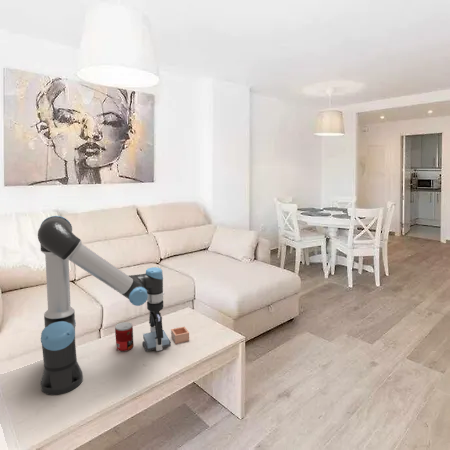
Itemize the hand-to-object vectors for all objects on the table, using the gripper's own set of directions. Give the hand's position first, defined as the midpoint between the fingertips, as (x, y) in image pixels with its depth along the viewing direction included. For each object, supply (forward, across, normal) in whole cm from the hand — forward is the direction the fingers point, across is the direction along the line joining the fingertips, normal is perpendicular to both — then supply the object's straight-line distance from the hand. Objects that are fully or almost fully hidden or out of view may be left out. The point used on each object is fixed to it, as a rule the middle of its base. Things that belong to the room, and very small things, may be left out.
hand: (156, 344), depth 166 cm
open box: (0, +1, -12) cm, 12 cm away
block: (+1, 0, 0) cm, 1 cm away
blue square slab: (-2, 0, 0) cm, 2 cm away
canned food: (+1, +5, +14) cm, 15 cm away
